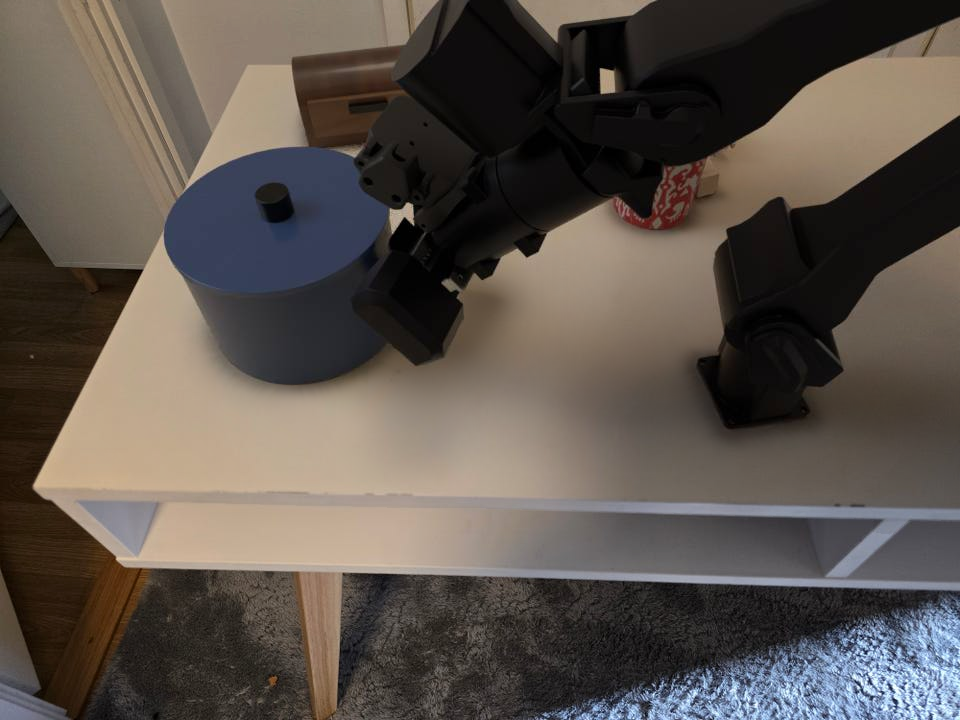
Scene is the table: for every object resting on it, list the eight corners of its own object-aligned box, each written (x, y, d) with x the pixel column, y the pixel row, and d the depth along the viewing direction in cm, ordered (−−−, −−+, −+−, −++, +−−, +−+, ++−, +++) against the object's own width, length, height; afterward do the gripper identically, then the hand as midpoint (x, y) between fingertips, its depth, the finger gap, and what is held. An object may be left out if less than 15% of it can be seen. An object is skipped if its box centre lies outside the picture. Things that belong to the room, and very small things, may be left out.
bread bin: (440, 139, 73) (434, 68, 67) (309, 155, 72) (291, 84, 66) (430, 99, 78) (424, 29, 72) (308, 113, 77) (291, 44, 71)
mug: (706, 238, 62) (747, 104, 52) (606, 236, 63) (627, 103, 52) (688, 156, 70) (720, 25, 60) (599, 155, 71) (616, 24, 60)
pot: (412, 372, 54) (392, 257, 44) (202, 399, 53) (133, 287, 43) (399, 235, 64) (380, 116, 54) (222, 255, 63) (171, 138, 53)
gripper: (493, -1, 42) (359, 125, 53) (356, 178, 31) (224, 289, 42) (602, 136, 46) (458, 226, 57) (515, 334, 35) (358, 397, 47)
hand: (384, 275), depth 51 cm, fingers closed, pressing on pot
